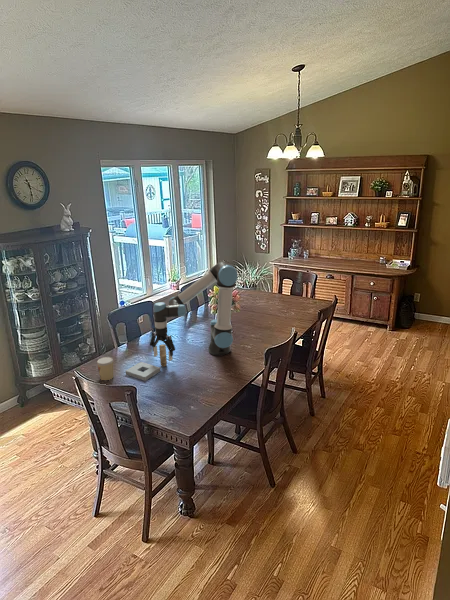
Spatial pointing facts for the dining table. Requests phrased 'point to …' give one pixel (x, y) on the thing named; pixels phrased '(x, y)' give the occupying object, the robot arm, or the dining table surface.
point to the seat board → (145, 375)
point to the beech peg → (163, 355)
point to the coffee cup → (105, 368)
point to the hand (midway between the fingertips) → (163, 358)
